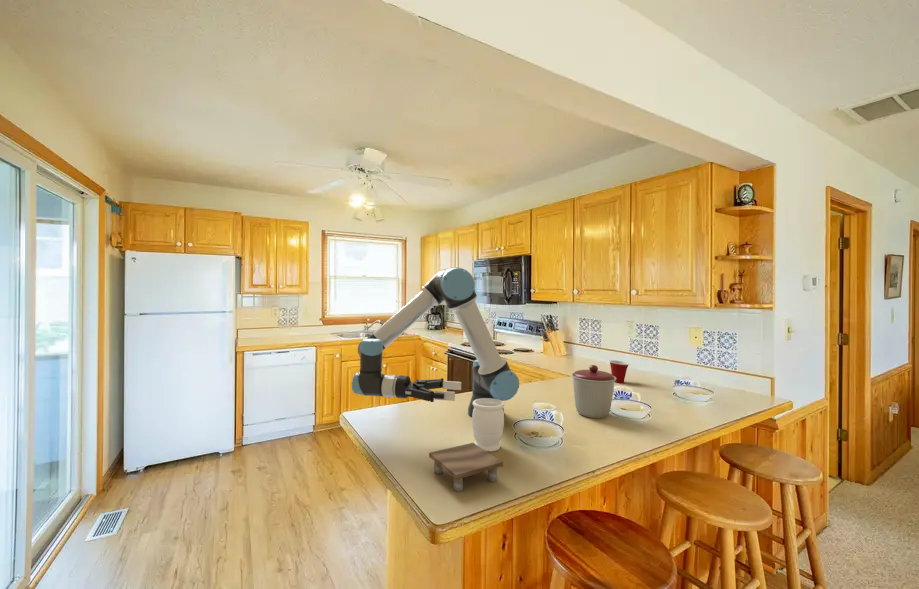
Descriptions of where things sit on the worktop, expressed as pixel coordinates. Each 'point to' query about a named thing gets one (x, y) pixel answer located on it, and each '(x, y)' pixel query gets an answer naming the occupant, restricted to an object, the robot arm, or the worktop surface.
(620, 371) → the plastic cup
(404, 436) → the worktop surface
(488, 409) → the jar
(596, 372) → the canister
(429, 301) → the robot arm
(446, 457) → the wooden trivet stand
